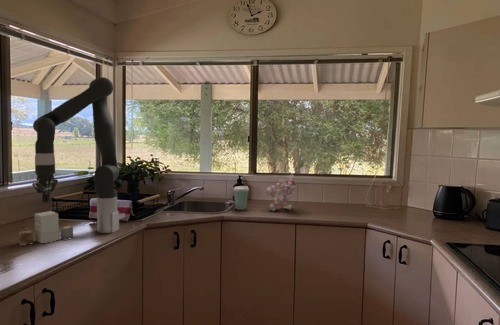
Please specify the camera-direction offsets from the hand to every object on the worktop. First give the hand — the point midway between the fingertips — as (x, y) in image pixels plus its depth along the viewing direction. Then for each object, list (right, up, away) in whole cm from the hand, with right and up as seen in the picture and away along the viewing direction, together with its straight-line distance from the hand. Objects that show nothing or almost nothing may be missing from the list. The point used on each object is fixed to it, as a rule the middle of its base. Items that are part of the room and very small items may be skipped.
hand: (46, 202), depth 148 cm
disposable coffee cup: (+84, -14, +75) cm, 114 cm away
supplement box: (-1, -18, +2) cm, 18 cm away
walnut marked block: (-7, -18, -3) cm, 19 cm away
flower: (+111, -14, +74) cm, 134 cm away
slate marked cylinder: (+6, -18, +6) cm, 19 cm away
